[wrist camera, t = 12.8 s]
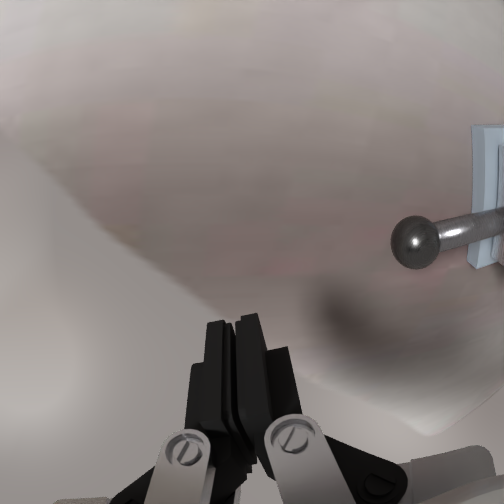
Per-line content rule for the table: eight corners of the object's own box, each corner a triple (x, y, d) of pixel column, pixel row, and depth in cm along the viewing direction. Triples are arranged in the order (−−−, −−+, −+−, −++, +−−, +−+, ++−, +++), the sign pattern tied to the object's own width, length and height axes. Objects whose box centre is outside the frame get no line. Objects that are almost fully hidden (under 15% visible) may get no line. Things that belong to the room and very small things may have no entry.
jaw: (370, 158, 13) (414, 180, 9) (520, 143, 12) (567, 160, 9) (377, 289, 16) (406, 337, 12) (512, 248, 15) (548, 277, 12)
